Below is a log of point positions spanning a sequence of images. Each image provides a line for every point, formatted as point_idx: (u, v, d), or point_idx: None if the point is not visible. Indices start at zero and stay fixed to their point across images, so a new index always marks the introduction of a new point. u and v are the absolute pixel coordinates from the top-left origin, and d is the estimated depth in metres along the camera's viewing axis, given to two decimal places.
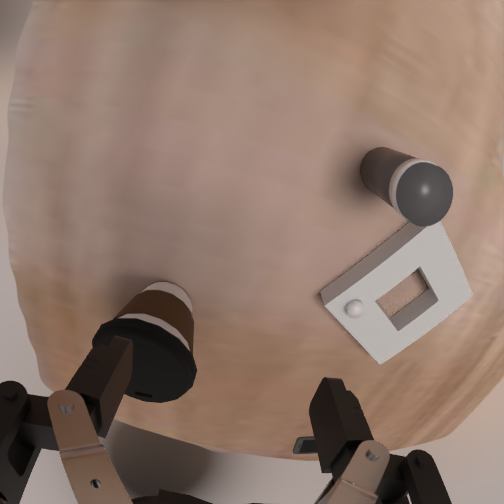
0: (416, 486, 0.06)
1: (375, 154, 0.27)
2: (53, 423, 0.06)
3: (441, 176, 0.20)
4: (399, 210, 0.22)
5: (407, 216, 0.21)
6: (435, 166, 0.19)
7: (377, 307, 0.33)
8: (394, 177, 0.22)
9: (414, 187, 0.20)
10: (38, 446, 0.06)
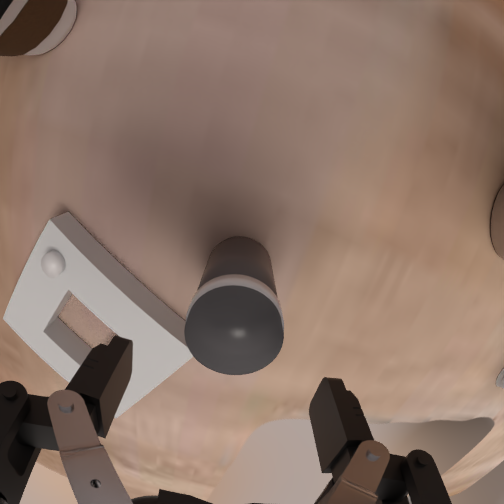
0: (416, 486, 0.06)
1: (263, 253, 0.22)
2: (53, 423, 0.06)
3: (266, 352, 0.15)
4: (200, 296, 0.15)
5: (195, 310, 0.14)
6: (281, 340, 0.15)
7: (62, 295, 0.22)
8: (248, 279, 0.16)
9: (242, 313, 0.15)
10: (38, 446, 0.06)
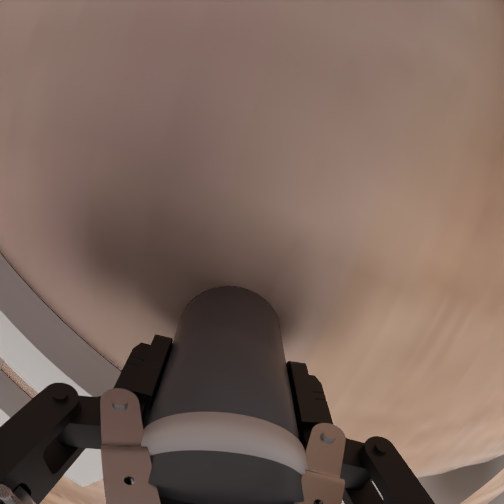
0: (381, 476, 0.07)
1: (268, 321, 0.13)
2: (102, 417, 0.07)
3: None
4: None
5: None
6: None
7: None
8: (243, 427, 0.07)
9: (232, 501, 0.05)
10: (85, 447, 0.07)
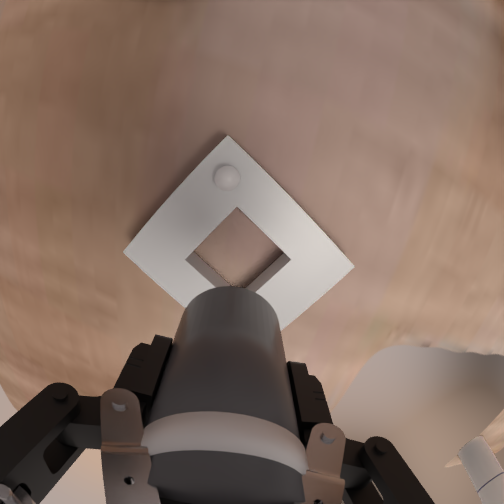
0: (381, 476, 0.07)
1: (269, 320, 0.13)
2: (102, 417, 0.07)
3: None
4: None
5: None
6: None
7: (226, 213, 0.26)
8: (244, 427, 0.07)
9: (233, 501, 0.05)
10: (84, 447, 0.07)
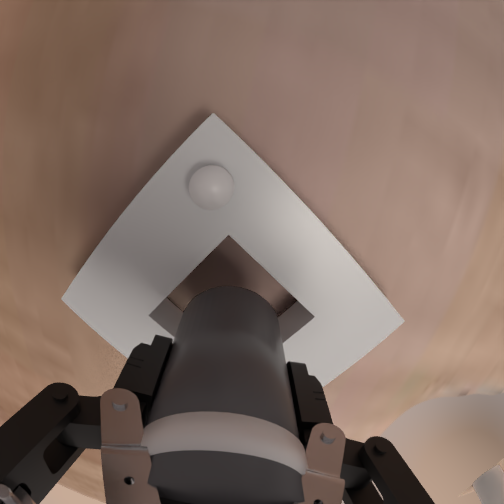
0: (381, 476, 0.07)
1: (269, 320, 0.13)
2: (102, 417, 0.07)
3: None
4: None
5: None
6: None
7: (211, 246, 0.15)
8: (244, 427, 0.07)
9: (232, 501, 0.05)
10: (85, 447, 0.07)
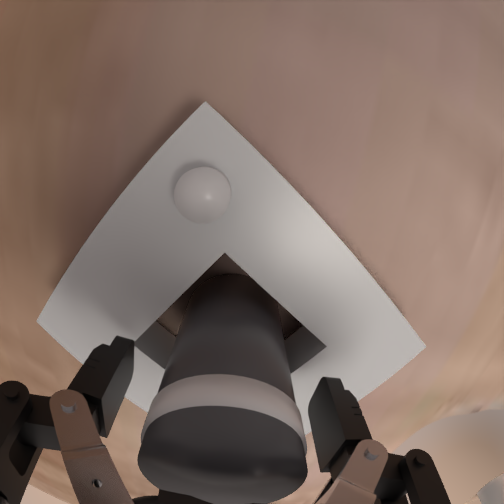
0: (415, 485, 0.06)
1: (268, 304, 0.14)
2: (55, 423, 0.06)
3: (277, 490, 0.07)
4: (159, 417, 0.07)
5: (150, 445, 0.07)
6: (302, 479, 0.07)
7: (203, 266, 0.12)
8: (246, 387, 0.08)
9: (236, 454, 0.07)
10: (40, 446, 0.06)
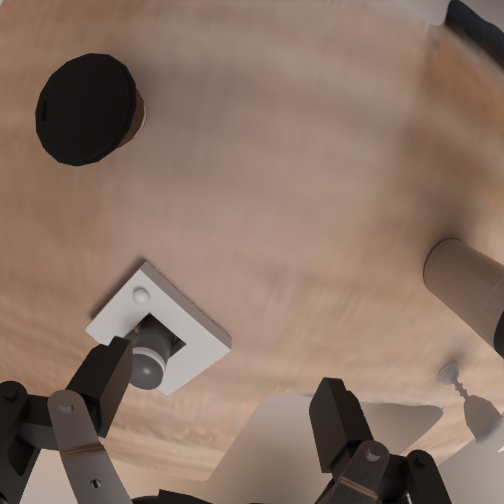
0: (416, 486, 0.06)
1: None
2: (53, 423, 0.06)
3: (156, 381, 0.33)
4: None
5: None
6: (161, 377, 0.33)
7: (143, 315, 0.38)
8: (147, 350, 0.33)
9: (143, 366, 0.32)
10: (38, 446, 0.06)
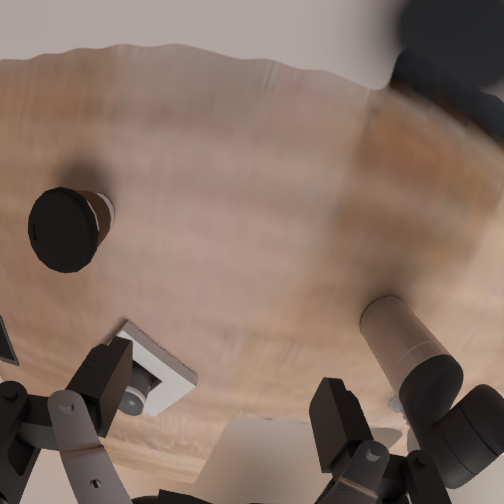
0: (416, 486, 0.06)
1: None
2: (53, 423, 0.06)
3: (138, 410, 0.42)
4: None
5: None
6: (141, 408, 0.42)
7: None
8: (131, 389, 0.43)
9: (128, 400, 0.42)
10: (38, 446, 0.06)
